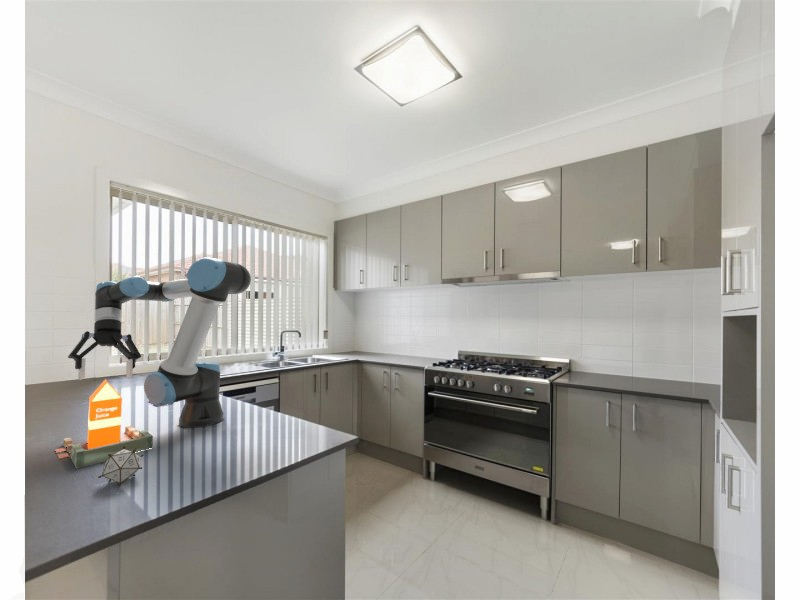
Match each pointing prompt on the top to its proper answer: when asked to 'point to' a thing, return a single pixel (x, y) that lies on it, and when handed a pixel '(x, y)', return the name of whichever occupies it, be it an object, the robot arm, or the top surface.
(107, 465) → the game die
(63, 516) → the top surface
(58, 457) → the trap strips
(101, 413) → the orange juice
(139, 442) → the tray
